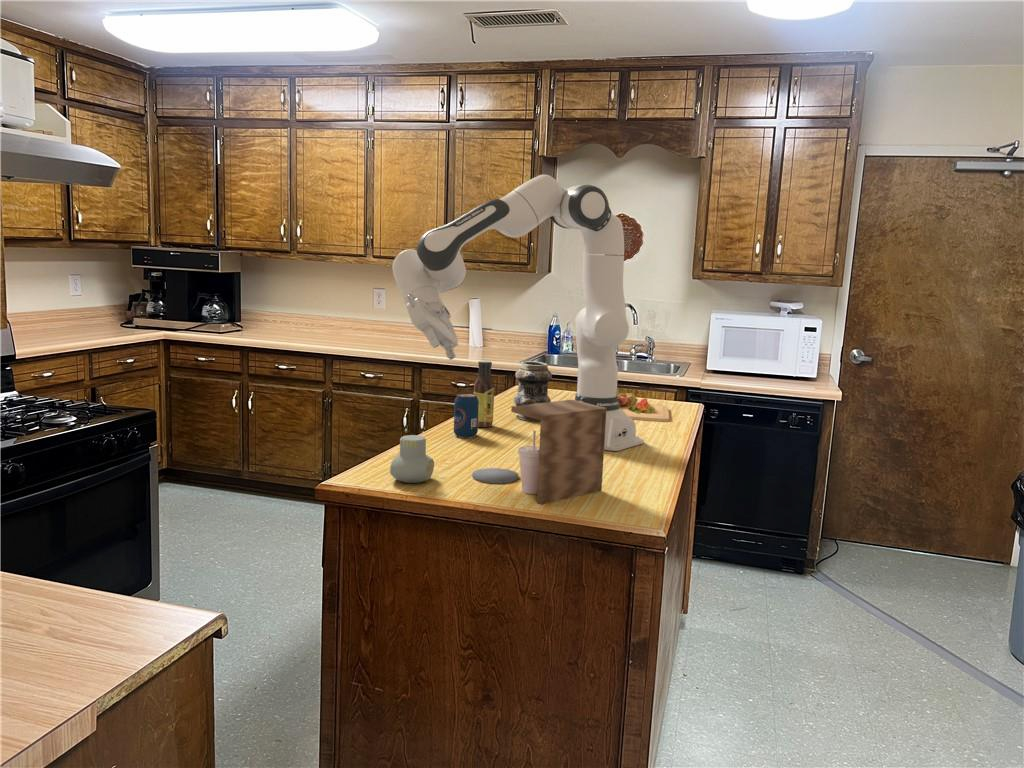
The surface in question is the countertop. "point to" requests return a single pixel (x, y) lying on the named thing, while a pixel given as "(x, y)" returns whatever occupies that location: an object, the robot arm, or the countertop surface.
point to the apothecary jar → (532, 385)
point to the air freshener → (412, 461)
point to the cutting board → (643, 409)
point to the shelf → (568, 448)
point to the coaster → (495, 475)
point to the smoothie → (529, 467)
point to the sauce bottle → (485, 394)
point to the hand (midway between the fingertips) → (444, 352)
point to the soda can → (466, 415)
